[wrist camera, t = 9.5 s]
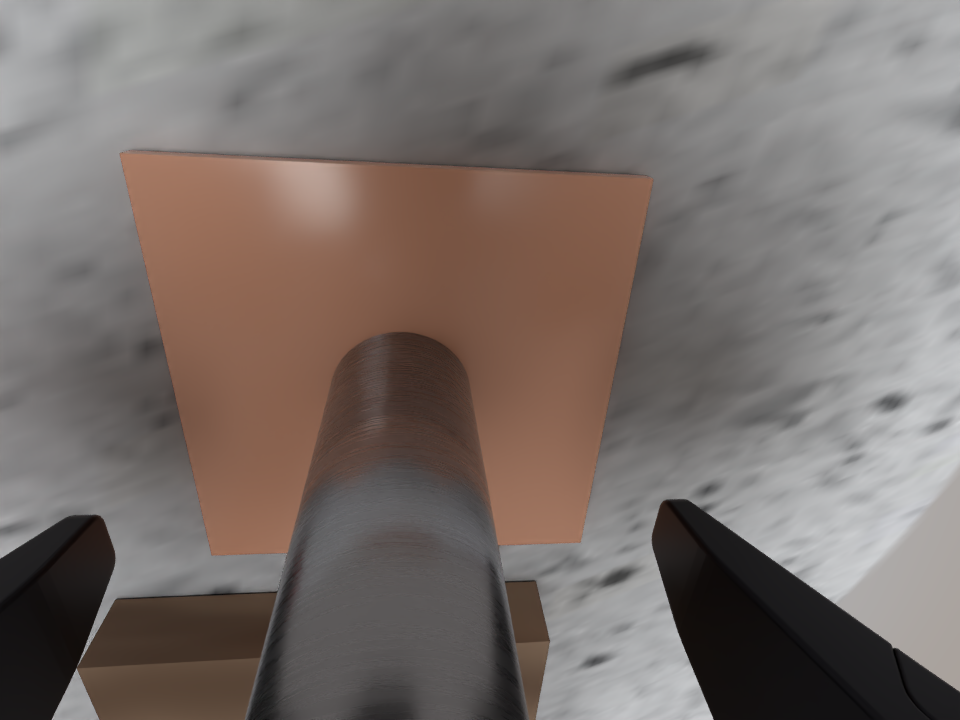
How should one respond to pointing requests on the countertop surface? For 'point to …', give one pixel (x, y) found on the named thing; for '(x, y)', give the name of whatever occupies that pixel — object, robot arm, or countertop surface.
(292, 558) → the peg
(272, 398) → the tile
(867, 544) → the countertop surface
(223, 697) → the plate
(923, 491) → the countertop surface
